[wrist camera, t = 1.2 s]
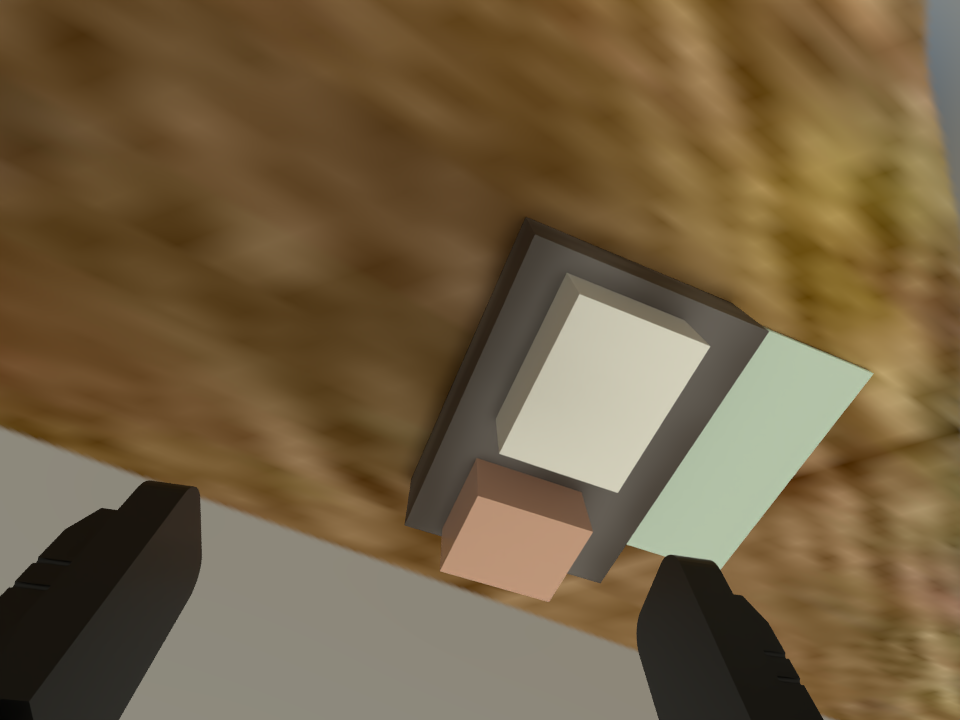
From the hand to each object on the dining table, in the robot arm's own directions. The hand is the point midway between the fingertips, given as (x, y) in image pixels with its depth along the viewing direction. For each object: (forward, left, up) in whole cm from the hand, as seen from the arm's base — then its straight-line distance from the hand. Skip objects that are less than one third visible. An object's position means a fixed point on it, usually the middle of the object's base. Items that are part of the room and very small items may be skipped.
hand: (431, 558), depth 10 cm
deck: (+8, -5, -20) cm, 23 cm away
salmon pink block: (+7, -11, -16) cm, 21 cm away
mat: (+19, -5, -20) cm, 29 cm away
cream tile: (+7, -2, -16) cm, 18 cm away
